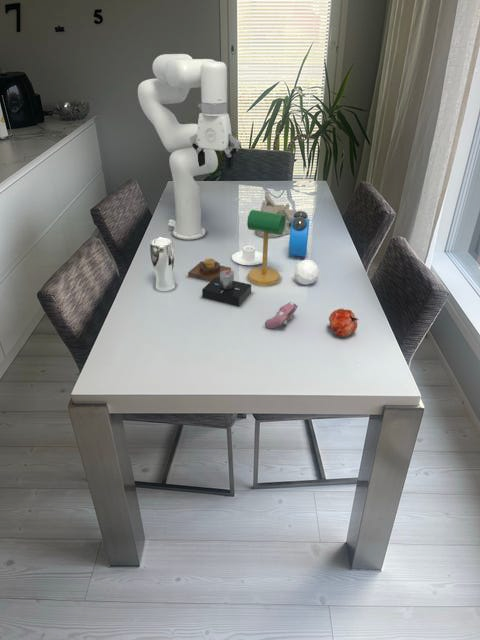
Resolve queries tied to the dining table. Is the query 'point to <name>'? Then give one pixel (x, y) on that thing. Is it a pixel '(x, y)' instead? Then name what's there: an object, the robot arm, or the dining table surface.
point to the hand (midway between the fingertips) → (215, 167)
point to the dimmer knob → (226, 280)
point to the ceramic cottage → (278, 209)
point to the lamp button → (209, 263)
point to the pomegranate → (343, 322)
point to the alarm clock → (299, 234)
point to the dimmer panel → (226, 292)
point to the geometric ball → (306, 272)
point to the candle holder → (248, 256)
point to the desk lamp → (265, 244)
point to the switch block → (207, 271)
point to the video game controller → (281, 315)
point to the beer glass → (163, 262)
